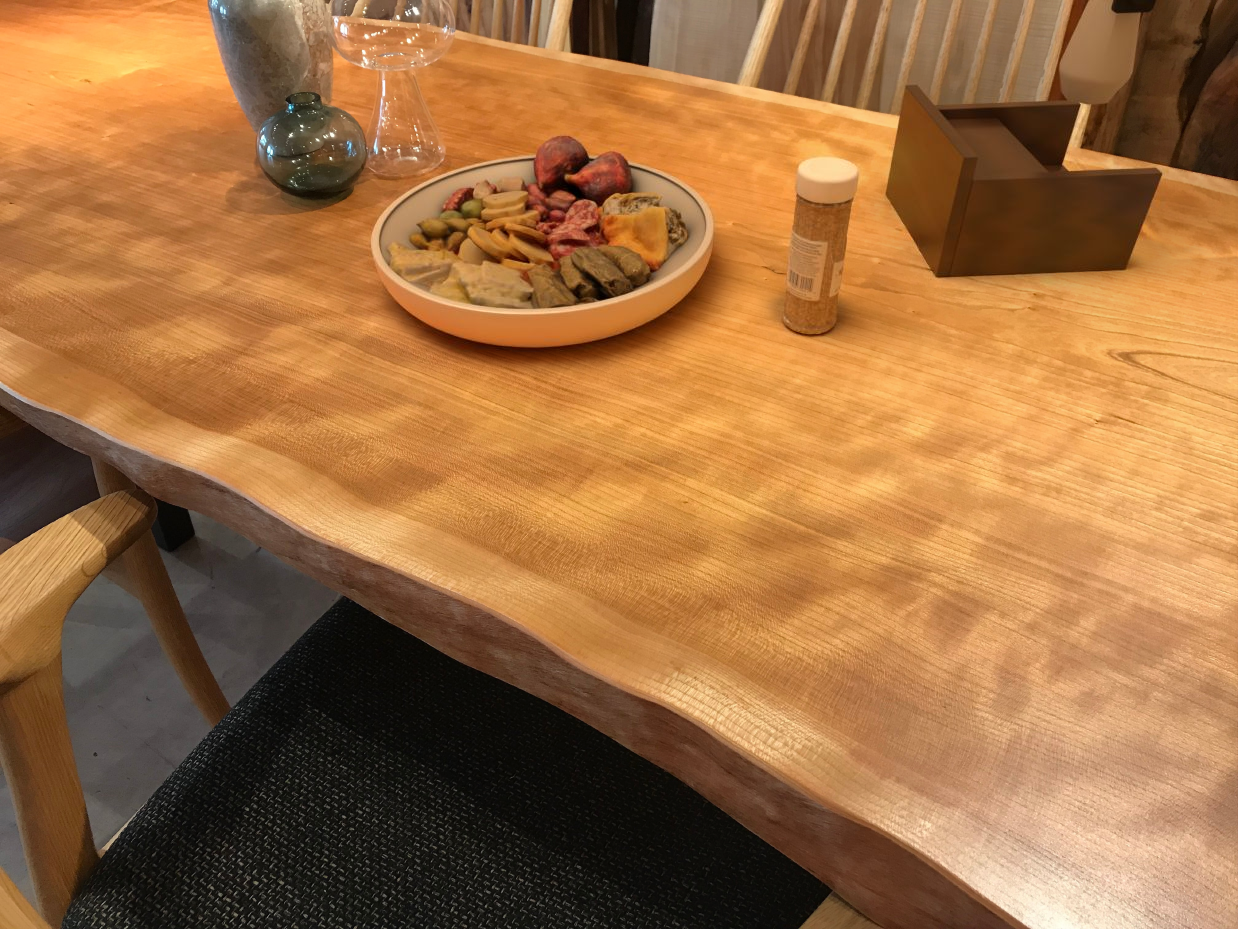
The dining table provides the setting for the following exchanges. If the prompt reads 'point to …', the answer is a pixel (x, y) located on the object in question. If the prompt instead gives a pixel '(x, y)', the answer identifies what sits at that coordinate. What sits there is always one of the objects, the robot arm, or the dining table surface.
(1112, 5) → the robot arm
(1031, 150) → the box
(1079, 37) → the salt shaker
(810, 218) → the sprinkles bottle
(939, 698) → the dining table surface
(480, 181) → the bowl
